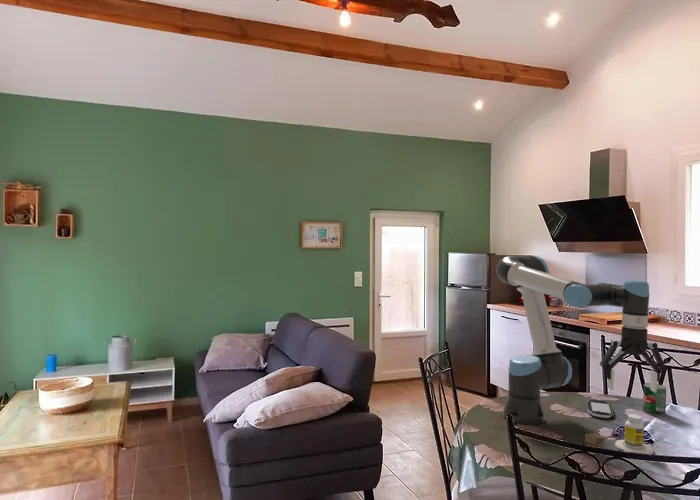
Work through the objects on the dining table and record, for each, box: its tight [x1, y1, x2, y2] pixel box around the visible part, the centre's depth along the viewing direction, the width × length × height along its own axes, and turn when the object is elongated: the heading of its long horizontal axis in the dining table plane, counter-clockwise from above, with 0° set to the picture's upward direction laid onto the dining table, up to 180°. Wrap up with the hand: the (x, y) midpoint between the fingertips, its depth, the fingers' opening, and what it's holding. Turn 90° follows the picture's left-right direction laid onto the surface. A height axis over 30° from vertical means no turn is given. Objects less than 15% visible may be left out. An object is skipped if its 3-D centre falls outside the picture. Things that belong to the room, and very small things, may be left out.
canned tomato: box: [642, 382, 667, 417], centre depth 200 cm, size 8×8×11 cm
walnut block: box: [584, 432, 605, 449], centre depth 164 cm, size 4×4×4 cm
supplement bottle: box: [623, 414, 645, 448], centre depth 164 cm, size 5×5×10 cm
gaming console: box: [586, 399, 614, 420], centre depth 200 cm, size 19×9×3 cm, turn 157°
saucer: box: [614, 439, 654, 455], centre depth 164 cm, size 11×11×1 cm
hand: (631, 389), depth 165 cm, fingers open, 13 cm apart
